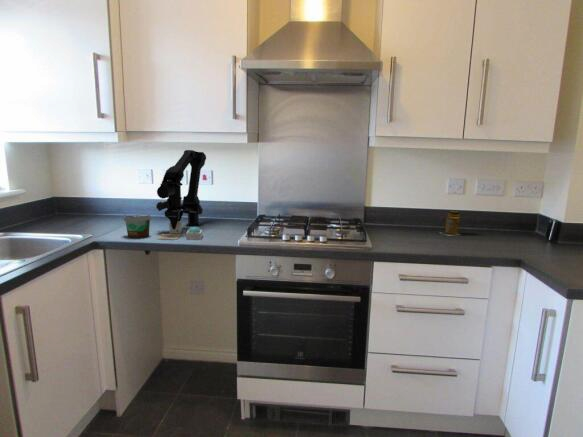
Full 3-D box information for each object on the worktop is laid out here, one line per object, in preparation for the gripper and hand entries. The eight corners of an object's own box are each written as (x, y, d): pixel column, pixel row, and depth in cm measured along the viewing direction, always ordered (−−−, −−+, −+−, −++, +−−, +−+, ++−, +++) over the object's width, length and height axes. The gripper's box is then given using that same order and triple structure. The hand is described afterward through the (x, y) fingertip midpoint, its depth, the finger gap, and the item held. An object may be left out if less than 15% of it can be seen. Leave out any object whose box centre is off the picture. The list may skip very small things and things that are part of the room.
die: (171, 231, 184) (171, 221, 183) (182, 231, 185) (181, 221, 184) (169, 233, 180) (169, 223, 179) (180, 233, 180) (179, 223, 179)
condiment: (461, 234, 192) (464, 212, 190) (449, 236, 188) (452, 213, 186) (449, 231, 198) (452, 209, 196) (438, 233, 195) (440, 210, 192)
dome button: (190, 234, 175) (190, 226, 174) (199, 234, 175) (199, 226, 174) (188, 237, 170) (188, 228, 169) (198, 237, 171) (198, 228, 170)
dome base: (188, 235, 176) (188, 229, 175) (202, 235, 176) (202, 229, 176) (186, 239, 169) (186, 233, 169) (200, 239, 170) (200, 233, 169)
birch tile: (162, 234, 177) (162, 233, 177) (181, 234, 178) (181, 233, 178) (157, 239, 168) (157, 238, 168) (177, 239, 169) (177, 238, 169)
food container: (120, 238, 168) (118, 216, 166) (125, 235, 174) (124, 214, 172) (147, 238, 169) (146, 217, 166) (152, 235, 175) (151, 214, 173)
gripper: (161, 192, 187) (163, 223, 190) (152, 198, 169) (154, 231, 172) (184, 193, 188) (185, 223, 191) (177, 198, 170) (178, 231, 173)
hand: (175, 227), depth 182 cm, fingers open, 9 cm apart
